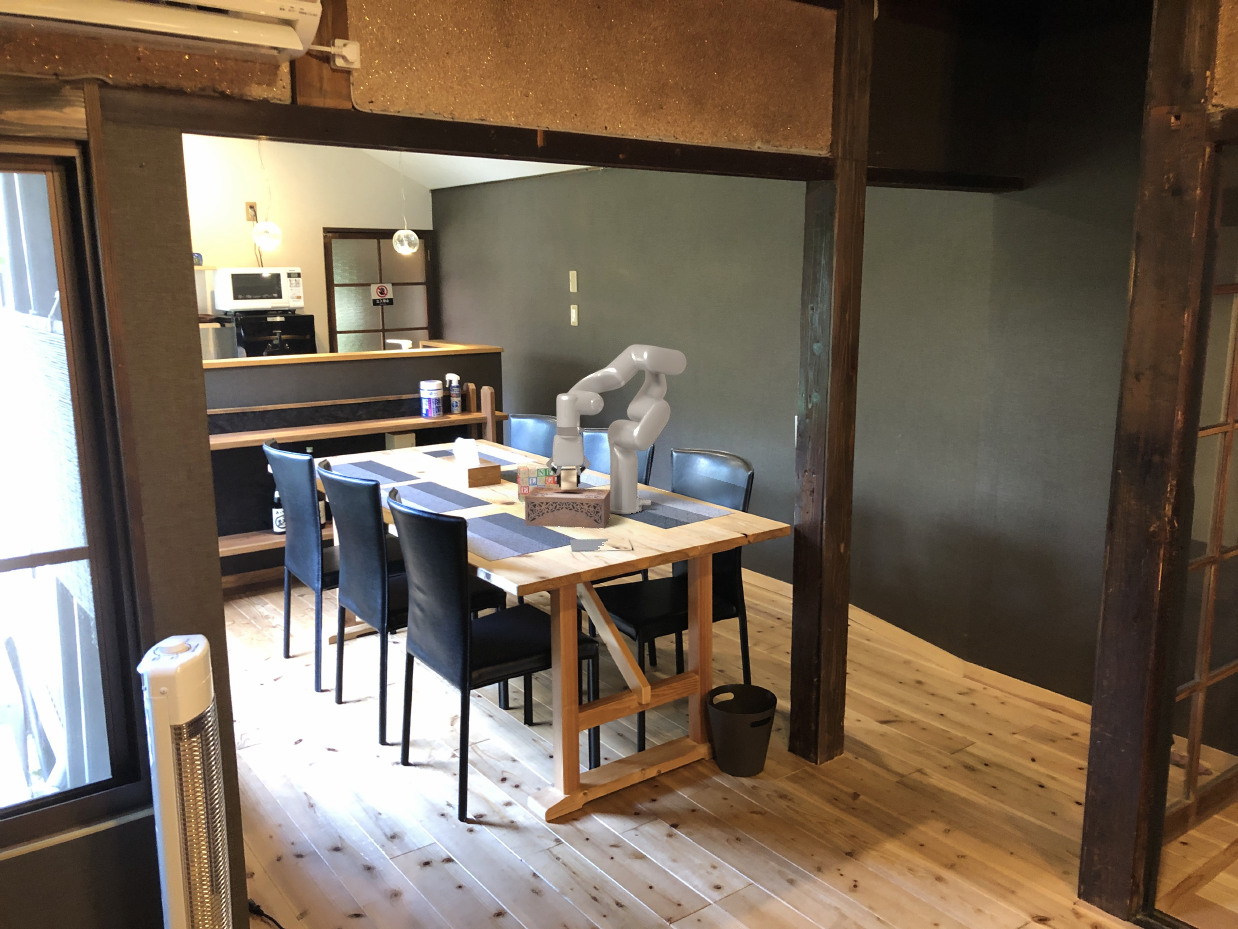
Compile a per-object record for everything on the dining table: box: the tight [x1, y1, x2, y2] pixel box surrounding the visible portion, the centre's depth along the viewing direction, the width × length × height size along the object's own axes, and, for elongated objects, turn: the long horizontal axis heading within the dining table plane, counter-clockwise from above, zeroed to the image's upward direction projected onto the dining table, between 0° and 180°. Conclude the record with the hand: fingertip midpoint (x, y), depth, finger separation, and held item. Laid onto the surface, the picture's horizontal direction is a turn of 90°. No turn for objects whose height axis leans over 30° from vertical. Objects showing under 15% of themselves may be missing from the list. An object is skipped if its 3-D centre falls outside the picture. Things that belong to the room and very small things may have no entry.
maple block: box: [560, 467, 577, 490], centre depth 308 cm, size 5×5×6 cm
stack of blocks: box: [517, 464, 579, 503], centre depth 342 cm, size 21×6×12 cm, turn 105°
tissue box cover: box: [524, 487, 611, 529], centre depth 310 cm, size 26×14×10 cm, turn 82°
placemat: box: [569, 538, 609, 552], centre depth 282 cm, size 18×12×1 cm, turn 96°
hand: (568, 485), depth 308 cm, fingers closed on maple block, 4 cm apart
